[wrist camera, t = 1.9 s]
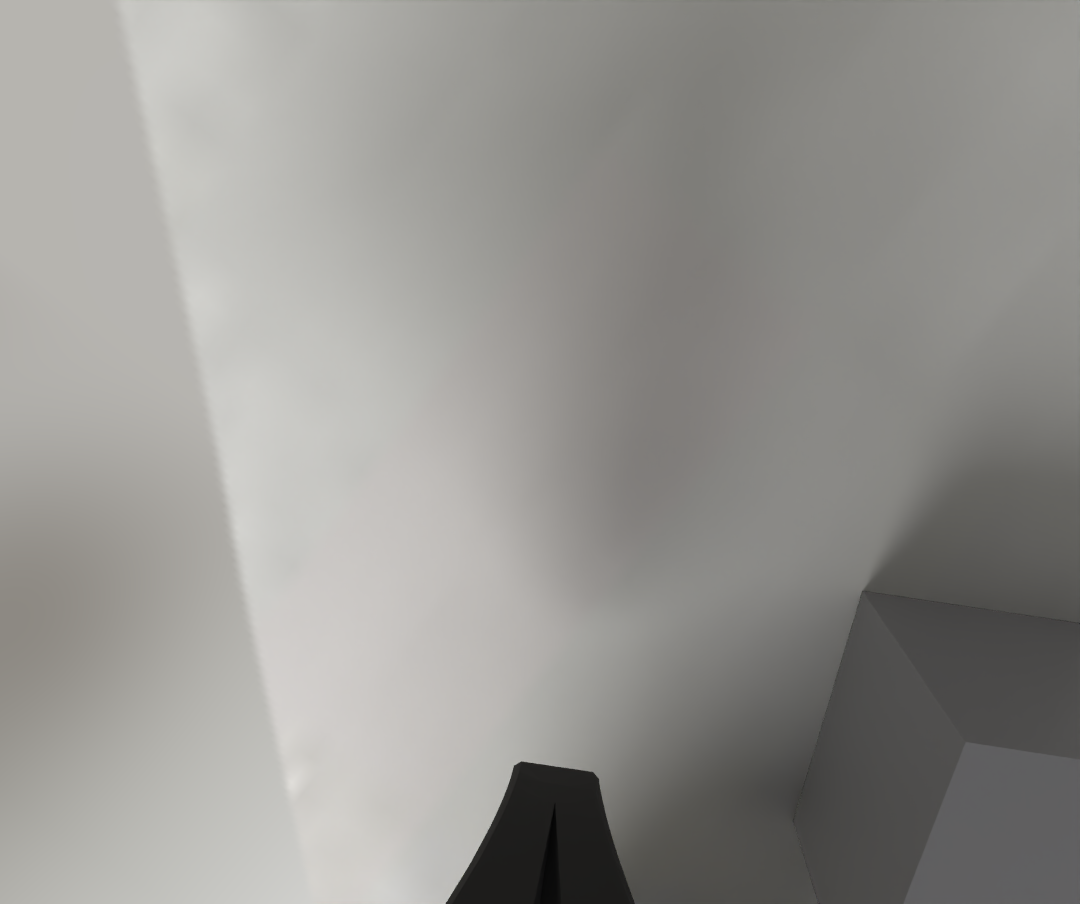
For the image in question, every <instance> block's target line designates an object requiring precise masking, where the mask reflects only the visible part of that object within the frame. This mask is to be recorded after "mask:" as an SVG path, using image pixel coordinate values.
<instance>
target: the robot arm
mask: <svg viewBox="0 0 1080 904" xmlns="http://www.w3.org/2000/svg"><path fill="white" fill-rule="evenodd" d="M446 904H635V903H634V900H633V898H632V895H631V892H630V889H629V887H628V884H627V881H626V878H625V875H624V873H623V870H622V867H621V864H620V861H619V858H618V855H617V852H616V849H615V846H614V842H613V839H612V836H611V832H610V829H609V825H608V822H607V818H606V814H605V810H604V805H603V801H602V796H601V791H600V785H599V779H598V777H597V776H596V775H595V774H594V773H593V772H588V771H581V770H575V769H568V768H561V767H555V766H548V765H541V764H534V763H528V762H520V763H518V764H516V765H515V766H514V768H513V772H512V776H511V779H510V782H509V785H508V788H507V790H506V793H505V796H504V798H503V800H502V803H501V805H500V807H499V809H498V811H497V814H496V816H495V818H494V820H493V822H492V824H491V826H490V828H489V830H488V832H487V834H486V836H485V838H484V839H483V841H482V843H481V845H480V847H479V849H478V851H477V852H476V854H475V856H474V858H473V860H472V862H471V863H470V865H469V867H468V869H467V870H466V872H465V873H464V875H463V877H462V878H461V880H460V882H459V883H458V885H457V886H456V888H455V890H454V891H453V893H452V894H451V896H450V898H449V899H448V901H447V902H446Z"/></svg>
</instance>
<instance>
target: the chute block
mask: <svg viewBox="0 0 1080 904" xmlns="http://www.w3.org/2000/svg"><path fill="white" fill-rule="evenodd" d="M793 823H794V826H795V829H796V832H797V836H798V839H799V842H800V845H801V848H802V852H803V855H804V858H805V861H806V865H807V868H808V871H809V874H810V877H811V881H812V884H813V887H814V890H815V893H816V897H817V900H818V903H819V904H1080V623H1074V622H1068V621H1061V620H1054V619H1047V618H1041V617H1034V616H1027V615H1020V614H1014V613H1007V612H1000V611H994V610H987V609H980V608H973V607H967V606H960V605H953V604H946V603H940V602H933V601H926V600H920V599H913V598H906V597H899V596H893V595H886V594H879V593H872V592H866V591H862V594H861V597H860V601H859V604H858V607H857V611H856V614H855V617H854V621H853V624H852V627H851V631H850V634H849V637H848V641H847V644H846V647H845V650H844V654H843V657H842V660H841V664H840V667H839V670H838V674H837V677H836V680H835V684H834V687H833V690H832V693H831V697H830V700H829V703H828V707H827V710H826V713H825V717H824V720H823V723H822V727H821V730H820V733H819V736H818V740H817V743H816V746H815V750H814V753H813V756H812V760H811V763H810V766H809V770H808V773H807V776H806V780H805V783H804V786H803V789H802V793H801V796H800V799H799V803H798V806H797V809H796V813H795V816H794V819H793Z"/></svg>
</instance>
